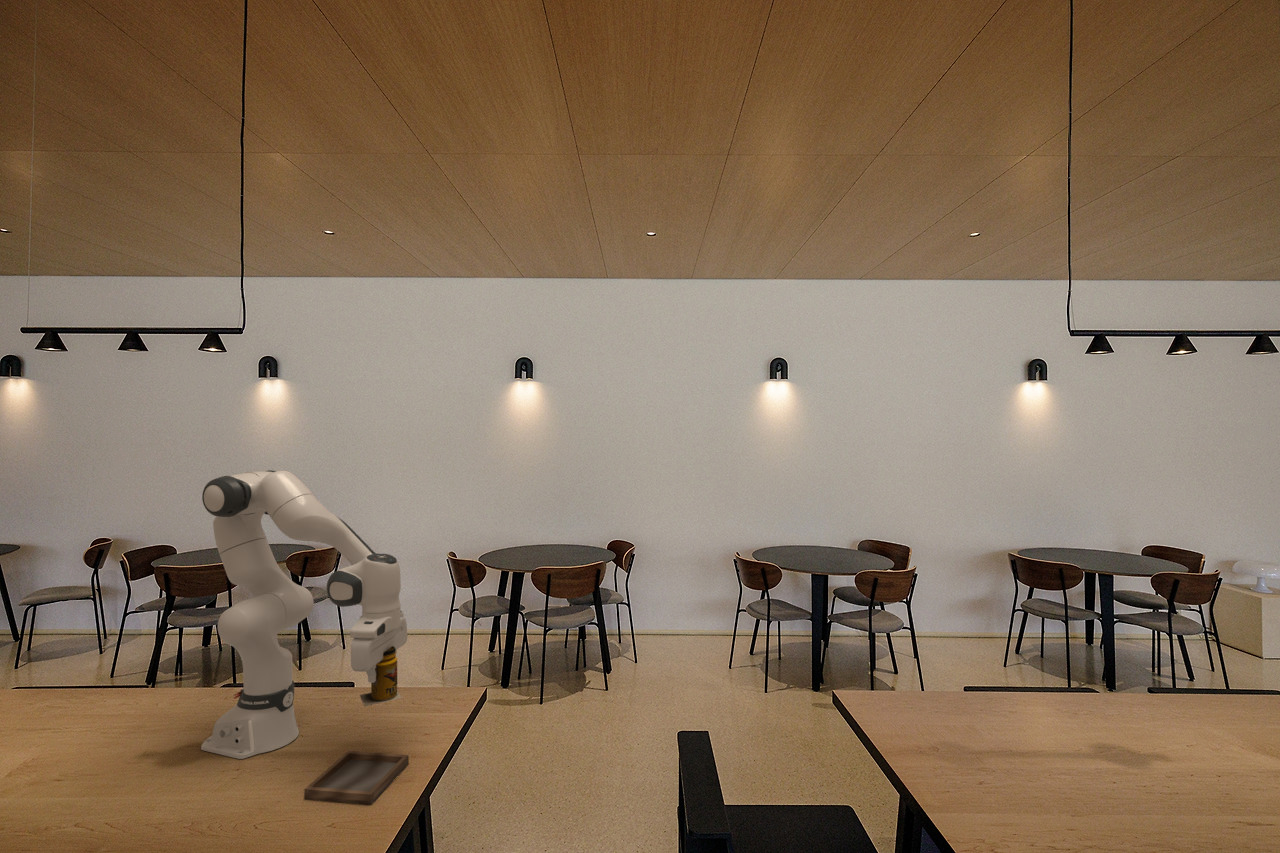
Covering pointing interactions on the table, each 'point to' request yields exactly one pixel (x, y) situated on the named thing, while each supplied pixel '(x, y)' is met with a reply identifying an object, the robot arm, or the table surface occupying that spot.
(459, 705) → the table surface
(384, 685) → the condiment
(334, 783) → the square wooden tray
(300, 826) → the table surface
